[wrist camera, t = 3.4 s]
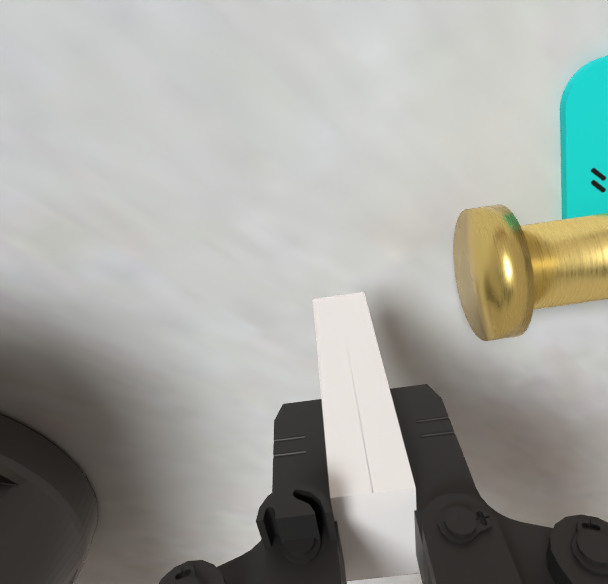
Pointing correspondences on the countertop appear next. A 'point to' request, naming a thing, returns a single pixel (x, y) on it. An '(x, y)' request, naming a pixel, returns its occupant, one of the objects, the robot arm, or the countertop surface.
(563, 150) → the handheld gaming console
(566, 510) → the countertop surface
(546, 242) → the pin
